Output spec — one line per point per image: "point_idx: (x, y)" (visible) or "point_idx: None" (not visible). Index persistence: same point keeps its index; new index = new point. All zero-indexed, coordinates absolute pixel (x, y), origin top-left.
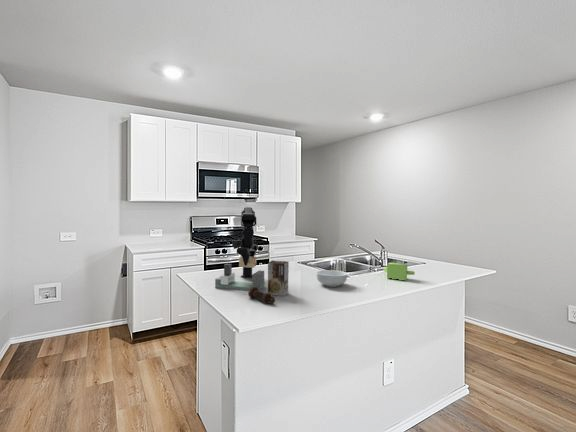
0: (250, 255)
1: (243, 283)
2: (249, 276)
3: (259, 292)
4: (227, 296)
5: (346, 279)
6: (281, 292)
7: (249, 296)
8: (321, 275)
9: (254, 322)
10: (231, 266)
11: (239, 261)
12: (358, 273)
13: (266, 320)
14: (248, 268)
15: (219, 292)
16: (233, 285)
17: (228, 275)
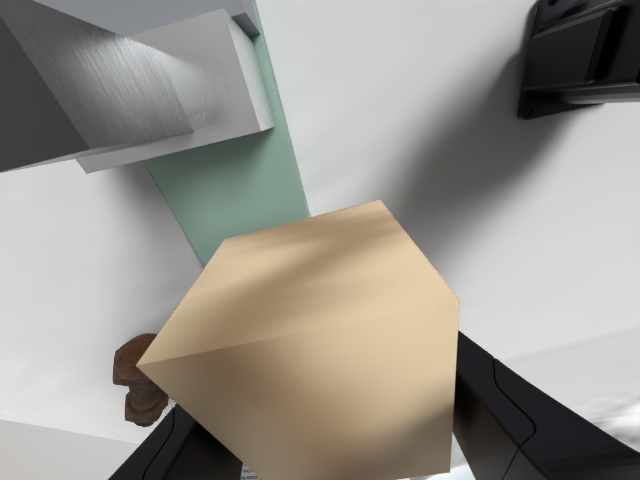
0: (479, 444)
1: (268, 220)
2: (537, 100)
3: (133, 394)
4: (63, 254)
5: (451, 477)
6: None
7: (135, 338)
8: (423, 476)
9: (20, 416)
10: (125, 143)
11: (193, 298)
12: (630, 439)
13: (58, 425)
14: (620, 86)
15: (55, 168)
16: (181, 194)
17: (117, 150)
